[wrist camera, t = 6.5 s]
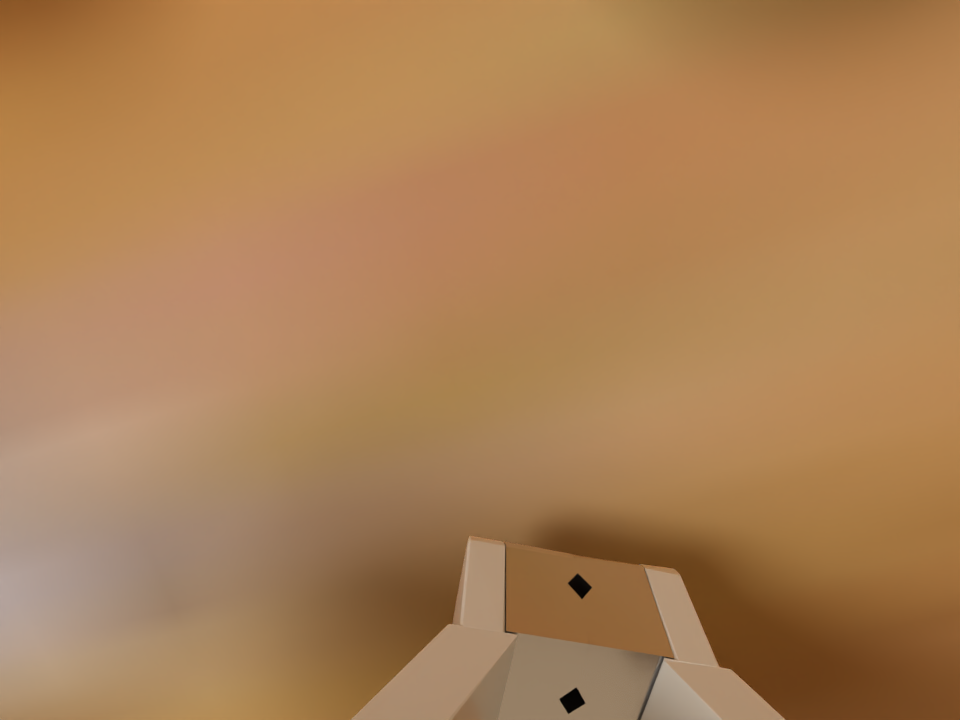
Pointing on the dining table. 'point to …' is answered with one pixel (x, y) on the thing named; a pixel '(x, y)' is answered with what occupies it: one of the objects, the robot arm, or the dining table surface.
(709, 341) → the dining table surface
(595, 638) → the robot arm
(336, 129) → the dining table surface
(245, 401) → the dining table surface
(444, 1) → the dining table surface
